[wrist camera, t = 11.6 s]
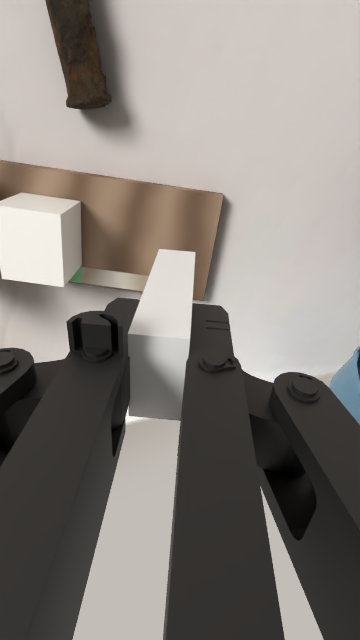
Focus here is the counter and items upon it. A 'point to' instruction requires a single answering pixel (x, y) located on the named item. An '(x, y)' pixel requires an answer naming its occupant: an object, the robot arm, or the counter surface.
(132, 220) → the gauge board
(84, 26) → the hand tool
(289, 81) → the counter surface
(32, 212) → the gauge slider
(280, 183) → the counter surface
